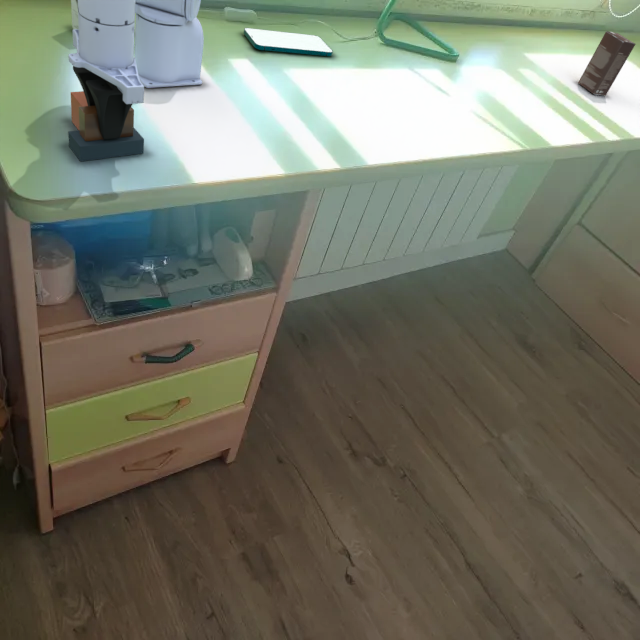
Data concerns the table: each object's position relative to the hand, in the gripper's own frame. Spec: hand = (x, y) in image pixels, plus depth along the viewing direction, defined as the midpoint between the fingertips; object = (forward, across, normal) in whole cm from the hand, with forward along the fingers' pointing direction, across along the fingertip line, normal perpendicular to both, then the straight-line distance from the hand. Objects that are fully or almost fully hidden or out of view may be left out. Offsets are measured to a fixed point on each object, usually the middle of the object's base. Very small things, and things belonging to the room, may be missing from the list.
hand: (106, 132), depth 74 cm
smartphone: (+2, -27, +47) cm, 54 cm away
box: (+2, 0, +116) cm, 116 cm away
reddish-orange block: (+2, -5, 0) cm, 6 cm away
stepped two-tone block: (+2, 0, 0) cm, 2 cm away
